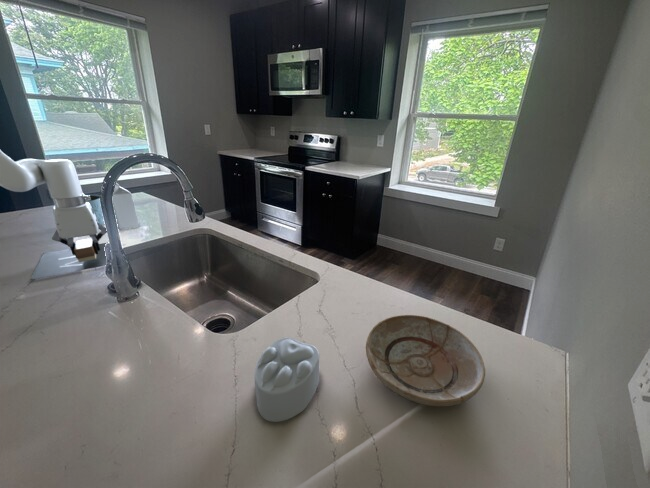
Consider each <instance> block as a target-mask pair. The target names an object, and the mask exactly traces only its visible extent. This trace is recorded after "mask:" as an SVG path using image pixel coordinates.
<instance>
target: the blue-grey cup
mask: <svg viewBox="0 0 650 488" xmlns="http://www.w3.org/2000/svg"><path fill="white" fill-rule="evenodd" d="M84 195H85V196H90V198H91V200H88V201H86V202H88V203H90V205H91V207H92V209H93V211H94V213H95V215H96V218H97V221H98V223H99V224H101V225H102V226H104V225H106V224H104V221H103V216H102V211H101V206H100V200H99V199H100V196H101V195H100V194H84Z"/></svg>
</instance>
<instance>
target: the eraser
mask: <svg viewBox="0 0 650 488" xmlns="http://www.w3.org/2000/svg"><path fill="white" fill-rule="evenodd" d="M75 243H76V245H75V248H74V251H75V254H76V256H77V259H78V261H79V262H83V261H88V260H93V259H96V255H97V254H96V253H95V250H94V248H93V245H92V243H93V240H92V239H91V237H90V238H85V239H78V240H76V242H75Z"/></svg>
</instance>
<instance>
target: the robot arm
mask: <svg viewBox="0 0 650 488" xmlns="http://www.w3.org/2000/svg"><path fill="white" fill-rule="evenodd" d="M44 184H46V186H47V188H48V191H49V194H50V197H51V200H52V202H53V205H54V206H52V213H53V219H54V224H55V227H56V230H55V231H54V233H53V235H52V237H51V240H53V241H55V242H58V243H61V244H63V245H65V246H67V247H68V248H69V249H71V251H72V254H73V255H75V256H76V254H75V251H74V248H75V245H76V242H75V241H74V238H82V237H87V236H89V237H90V238H91V239H92V240H93V243H92V245H93V248H94V250H95V253H96V254H98V253H99V250H100V246H99V244H100V243H99V241H100V240H101V239H102V237H103V236H105V235H106V234H107V233H108V232H107V231H106V228H107V227H105V226H104V225H101V224H99V223H98V221H97V218H96V215H95V213H94V211H93V209H92V207H91V205H90V203H88V202H86V201H88V200H91V198H90V196H85V195H86V194H85V193H84V192H83V188H82V185H81V182H80V179H79V177H78V173H77V170H76V166H75V164H74V163H73V161H72V160H70V159H63V158H57V159H48V160H47V159H36V158H23V159H18V160H16V161H15V160H14V159H12V158H11V157H10V156H8V154H6V153H4V152H3V151H2V150H1V149H0V187H2V188H4V189H6V190H8V191H11V192H15V193H25V192H28V191H31V190H32V189H34V188H36V187H38V186H41V185H44ZM76 258H77V256H76Z"/></svg>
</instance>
